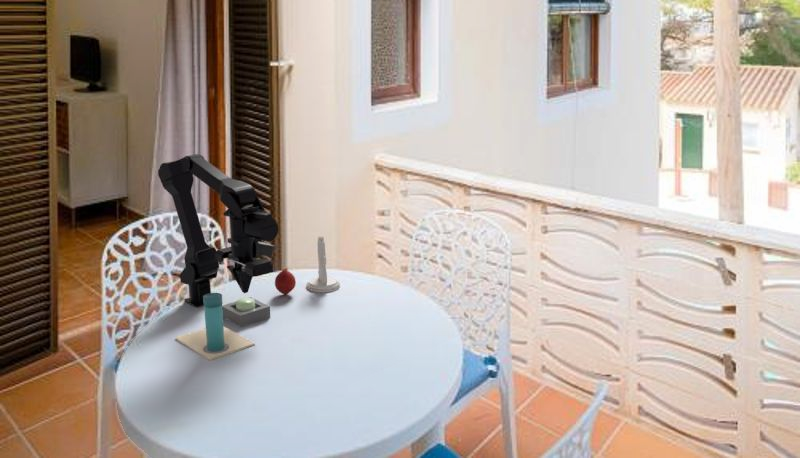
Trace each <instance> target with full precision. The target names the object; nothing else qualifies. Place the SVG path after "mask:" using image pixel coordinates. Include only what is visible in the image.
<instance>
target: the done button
mask: <svg viewBox="0 0 800 458" xmlns="http://www.w3.org/2000/svg"><path fill="white" fill-rule="evenodd" d="M252 298H253V297H251V298H250V297H242V298H239V299H236V301H235V302H236V310H238V311H240V312H245V311H248V310H251V309H255V300H256V299H255V298H253V299H252ZM254 299H255V300H254Z"/></svg>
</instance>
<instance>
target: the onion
mask: <svg viewBox="0 0 800 458" xmlns="http://www.w3.org/2000/svg"><path fill="white" fill-rule="evenodd" d="M296 285H297V283H296V277H295V276H294V274H293V273H292V272H290V271H289V270H288V268H287V267H283V269H282V270H281V271H280V272H278V273H277V275H276V276H275V279H274V286H275V289H276V290H277V291H278V292H279V293H281V294H283V295H285V296H287V295H289V294H290V293H291V292H292V291H293V290H294V288H295V287H296Z"/></svg>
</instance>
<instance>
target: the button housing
mask: <svg viewBox="0 0 800 458" xmlns="http://www.w3.org/2000/svg"><path fill="white" fill-rule="evenodd" d="M249 298H252V299H254V300H255V309H251V310H248V311H245V312H240V311H238V310H236V301H233V302H229V303H226V304H222V311H223V319H226V320H227V321H230V322H231V323H233V324H235V325H236V326H239V327H243V326H248V325H250V324H253V323H256V322H260V321H263V320H265V319H269V318H271V306H270V305H268V304H267V303H264V302H261V301H259V300H257V299H255V298H253V297H249Z"/></svg>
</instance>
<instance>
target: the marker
mask: <svg viewBox="0 0 800 458" xmlns="http://www.w3.org/2000/svg"><path fill="white" fill-rule="evenodd" d="M203 303H204V305H203V308H204V321H205V324H204V325H205V328H206V339H207V350H208V351H211V352H217V351H221V350H223V349H224V348H225V342H224V327H225V326H224V317H223V311H222V305H223V294H222V293H220V292H211V293H208V294H205V295H204V296H203Z"/></svg>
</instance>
